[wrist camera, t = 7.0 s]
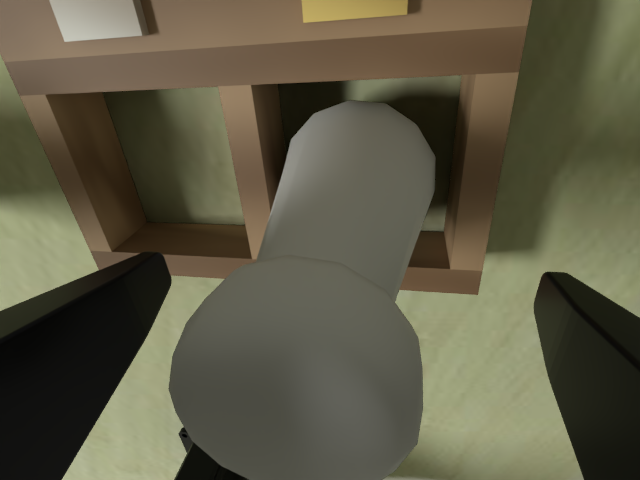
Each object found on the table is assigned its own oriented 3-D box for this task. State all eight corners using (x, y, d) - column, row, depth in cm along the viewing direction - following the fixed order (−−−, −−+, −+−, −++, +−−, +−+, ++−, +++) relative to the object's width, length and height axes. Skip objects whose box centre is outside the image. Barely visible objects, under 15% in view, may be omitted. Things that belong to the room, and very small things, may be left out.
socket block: (467, 254, 18) (479, 301, 15) (134, 240, 21) (93, 275, 19) (528, -137, 11) (572, -188, 8) (21, -61, 15) (-72, -78, 12)
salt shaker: (447, 96, 15) (572, 356, 4) (417, 225, 18) (437, 573, 7) (300, 82, 15) (42, 261, 4) (296, 207, 18) (138, 495, 7)
